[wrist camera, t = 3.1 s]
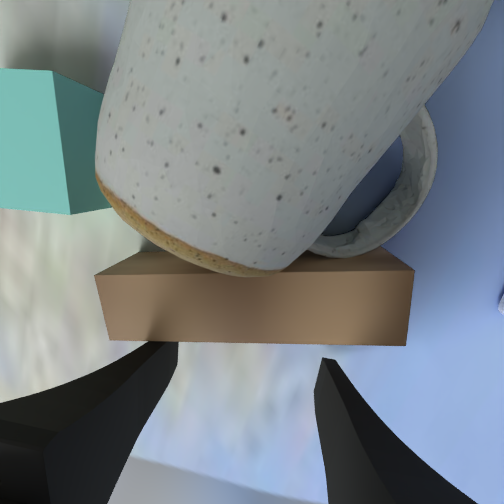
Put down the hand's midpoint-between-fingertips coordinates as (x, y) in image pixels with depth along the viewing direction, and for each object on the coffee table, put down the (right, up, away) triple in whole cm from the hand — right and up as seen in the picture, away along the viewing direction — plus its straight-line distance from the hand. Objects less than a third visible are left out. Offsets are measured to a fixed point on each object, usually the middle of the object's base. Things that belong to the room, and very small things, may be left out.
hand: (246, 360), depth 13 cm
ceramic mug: (+2, +10, -1) cm, 10 cm away
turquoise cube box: (-9, +10, 0) cm, 14 cm away
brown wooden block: (0, +4, +1) cm, 4 cm away
